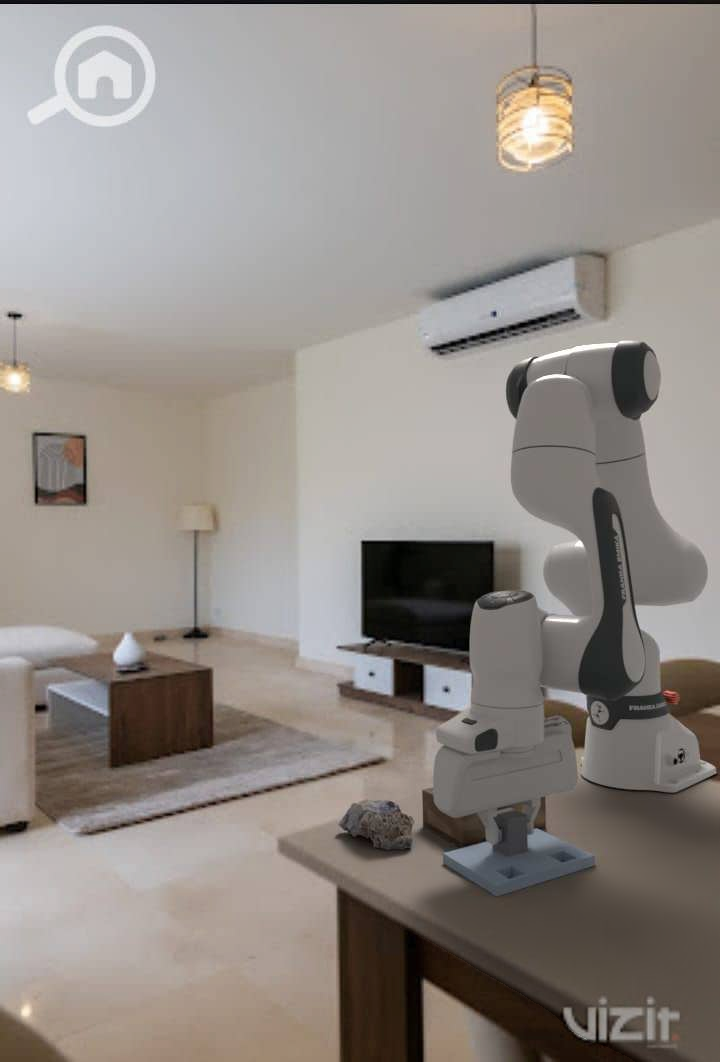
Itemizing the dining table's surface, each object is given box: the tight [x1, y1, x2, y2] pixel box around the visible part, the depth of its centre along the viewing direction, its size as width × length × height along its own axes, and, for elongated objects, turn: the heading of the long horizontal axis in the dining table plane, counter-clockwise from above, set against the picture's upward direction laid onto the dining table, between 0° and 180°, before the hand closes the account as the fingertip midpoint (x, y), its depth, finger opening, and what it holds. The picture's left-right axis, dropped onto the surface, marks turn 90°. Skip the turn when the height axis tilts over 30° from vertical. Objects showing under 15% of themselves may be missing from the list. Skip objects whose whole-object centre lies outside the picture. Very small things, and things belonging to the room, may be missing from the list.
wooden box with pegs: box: [421, 787, 547, 849], centre depth 101 cm, size 14×9×8 cm, turn 119°
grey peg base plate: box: [442, 808, 596, 898], centre depth 89 cm, size 15×10×6 cm, turn 119°
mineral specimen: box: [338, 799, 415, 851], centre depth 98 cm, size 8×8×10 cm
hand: (509, 838), depth 91 cm, fingers open, 3 cm apart
